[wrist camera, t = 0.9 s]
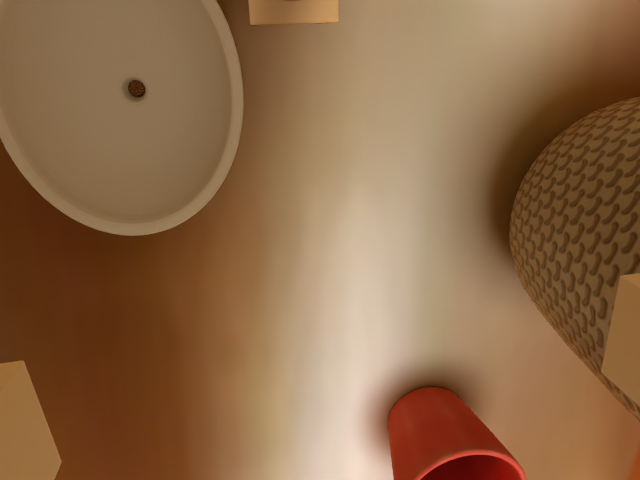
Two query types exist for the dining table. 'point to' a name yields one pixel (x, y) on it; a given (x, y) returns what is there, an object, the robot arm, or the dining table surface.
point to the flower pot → (445, 441)
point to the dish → (120, 107)
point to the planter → (582, 229)
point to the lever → (293, 12)
